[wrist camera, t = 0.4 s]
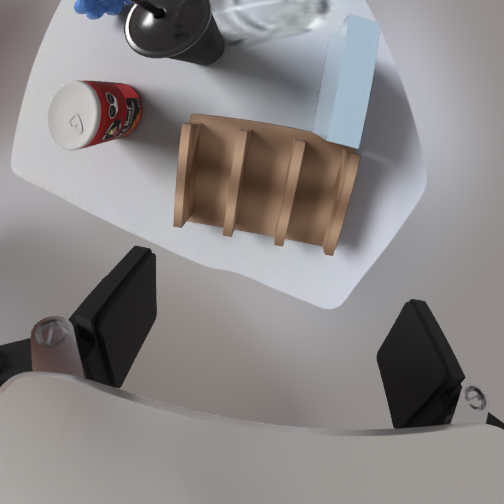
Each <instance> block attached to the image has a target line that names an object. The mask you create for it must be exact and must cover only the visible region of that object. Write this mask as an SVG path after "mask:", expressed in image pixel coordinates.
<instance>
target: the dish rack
mask: <svg viewBox="0 0 504 504" xmlns="http://www.w3.org/2000/svg"><path fill="white" fill-rule="evenodd" d="M355 149H356V148H353V147H349V146H345V145H342V144H338V143H334V142H330V141H326V140H325V139H323V138H321V137H320V136H318V135H316V134H314V133H313V132H310V131H305V130H300V129H295V128H290V127H285V126H280V125H275V124H269V123H263V122H257V121H250V120H244V119H237V118H229V117H221V116H212V115H202V114H191V118H190V123H185V124H182V128H181V137H180V146H179V156H178V167H177V179H176V192H175V208H174V227H180V228H182V226H183V225H184V224H185V223H186V221H191V222H196V223H202V224H208V225H213V226H219V227H224V230H223V235H224V236H230V237H231V236H232V234H233V231H234V229H236V230H241V231H247V232H252V233H257V234H263V235H268V236H274V237H275V244H274V245H278V246H283V244H284V240H285V239H289V240H295V241H300V242H305V243H310V244H315V245H320V246H323V250H324V253H325V255H331V256H333V254H334V251H335V247H336V244H337V241H338V238H339V234H340V231H341V228H342V224H343V221H344V217H345V214H346V210H347V207H348V203H349V199H350V196H351V192H352V188H353V184H354V181H355V177H356V173H357V169H358V165H359V161H360V155H358V154H356V153H355Z"/></svg>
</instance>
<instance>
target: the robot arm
mask: <svg viewBox="0 0 504 504" xmlns="http://www.w3.org/2000/svg"><path fill="white" fill-rule="evenodd" d="M156 315H157V306H156V255H155V254H154V253H152V251H151V249H150V248H145V247H140V246H134V247H133V248H132V250H130V251H129V252H128V253H127V255H126V256H125V257H124V258H123V259H122V260H121V261H120V262H119V263H118V264H117V265H116V266H115V268H114V269H113V270H112V271H111V272H110V273H109V274H108V275H107V276H106V277H105V278H103V279H102V281H101V282H100V283H99V284H98V285H97V286H96V288H95V289H94V290H93V291H92V292H91V293H90V294H89V295H88V297H87V298H86V299H85V300H84V301H83V303H82V304H81V305H80V306H79V307H78V309H77V310H76V311H75V312H74V313H73V315H72V316H71V317H70V318H69V319H66V318H64V317H60V316H49V317H46V318H43V319H42V320H40V321H39V322H37V324H35V325H34V327H33V329H32V331H31V338H29V339H25V340H21V341H17V342H13V343H9V344H5V345H1V346H0V504H504V423H502V422H501V421H500V420H498V419H497V418H496V417H494V416H493V415H492V414H490V413H489V412H488V409H489V399H488V397H487V395H486V393H485V391H484V390H483V389H482V388H481V387H479V386H478V385H476V384H473V383H467V384H465V385H464V386H463V387H462V386H461V382H462V381H463V380H464V379H465V375H464V373H463V372H462V369H461V367H460V365H459V363H458V361H457V359H456V357H455V355H454V353H453V351H452V349H451V347H450V345H449V343H448V341H447V339H446V338H445V336H444V334H443V332H442V330H441V328H440V326H439V325H438V323H437V321H436V319H435V317H434V316H433V314H432V312H431V310H430V309H429V307H428V305H427V304H426V302H425V301H421V300H415V299H412V300H410V301H409V302H407V303H405V305H404V306H403V308H402V310H401V312H400V314H399V316H398V318H397V319H396V321H395V323H394V325H393V327H392V328H391V330H390V332H389V334H388V336H387V337H386V339H385V341H384V342H383V344H382V346H381V347H380V349H379V351H378V353H377V363H378V366H379V370H380V373H381V377H382V381H383V385H384V389H385V393H386V397H387V401H388V405H389V410H390V414H391V418H392V423H393V427H394V428H395V429H373V430H350V429H349V430H348V429H321V428H306V427H293V426H284V425H275V424H268V423H260V422H253V421H247V420H241V419H234V418H229V417H224V416H218V415H214V414H209V413H204V412H199V411H195V410H191V409H187V408H183V407H179V406H175V405H171V404H168V403H164V402H160V401H156V400H152V399H149V398H146V397H142V396H139V395H136V394H133V393H129V392H126V391H123V390H120V389H117V388H120V387H121V386H122V384H123V382H124V380H125V378H126V376H127V374H128V372H129V370H130V368H131V366H132V364H133V362H134V359H135V358H136V356H137V354H138V352H139V350H140V348H141V346H142V344H143V343H144V341H145V339H146V337H147V335H148V333H149V331H150V329H151V327H152V325H153V323H154V321H155V319H156Z"/></svg>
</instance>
